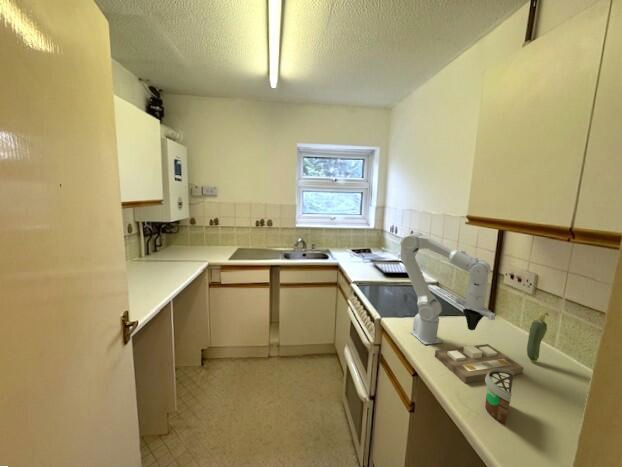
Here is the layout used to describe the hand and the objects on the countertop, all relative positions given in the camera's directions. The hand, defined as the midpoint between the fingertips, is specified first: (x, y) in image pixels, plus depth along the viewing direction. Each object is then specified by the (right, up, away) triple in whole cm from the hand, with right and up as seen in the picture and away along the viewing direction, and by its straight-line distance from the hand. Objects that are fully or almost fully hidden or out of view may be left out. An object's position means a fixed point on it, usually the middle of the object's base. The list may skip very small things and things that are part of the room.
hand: (471, 329), depth 100 cm
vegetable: (+22, -12, 0) cm, 25 cm away
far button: (+6, -10, 0) cm, 12 cm away
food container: (-8, -14, -23) cm, 28 cm away
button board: (0, -11, -4) cm, 12 cm away
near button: (-8, -10, -4) cm, 13 cm away
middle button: (-1, -9, -2) cm, 9 cm away
